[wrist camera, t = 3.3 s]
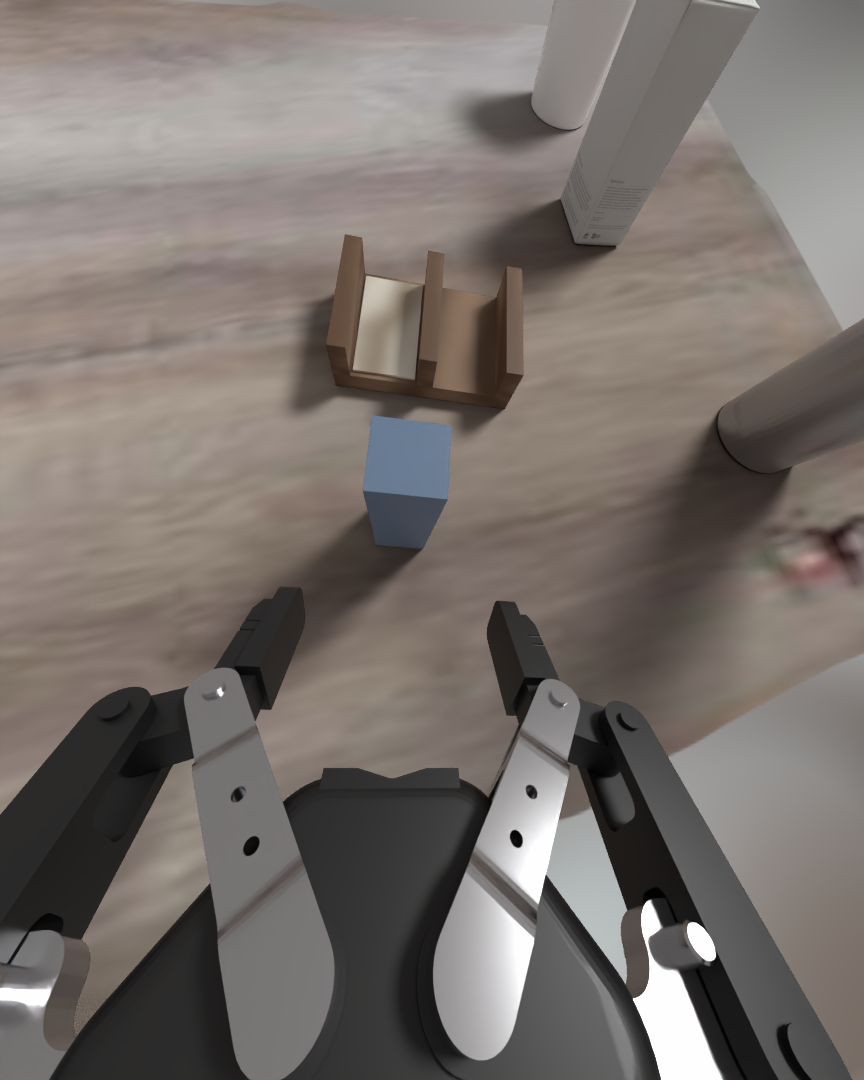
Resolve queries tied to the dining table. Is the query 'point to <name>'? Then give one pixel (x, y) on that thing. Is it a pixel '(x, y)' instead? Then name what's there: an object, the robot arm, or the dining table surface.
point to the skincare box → (648, 108)
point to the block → (406, 479)
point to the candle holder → (577, 58)
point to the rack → (425, 334)
